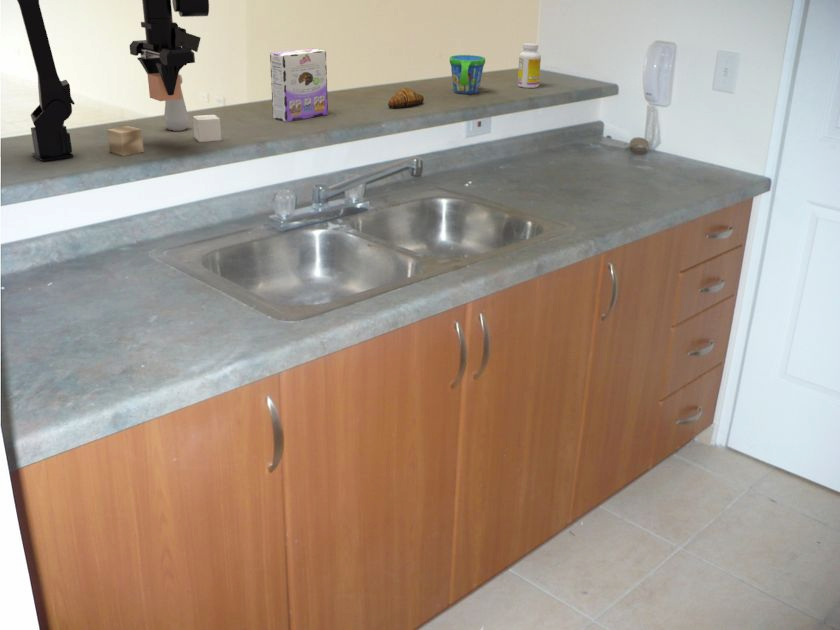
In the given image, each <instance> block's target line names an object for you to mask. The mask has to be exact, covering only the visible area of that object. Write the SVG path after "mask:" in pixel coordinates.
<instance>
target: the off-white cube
mask: <svg viewBox="0 0 840 630" xmlns="http://www.w3.org/2000/svg"><path fill="white" fill-rule="evenodd" d="M192 124H193V125H192V126H193V136H194V139H196V140H197V141H198V142H199V143H203V142H204V143H205V142H206V143H207V142H214V141H215V142H218V141H222V129H221V118H220V117H218V116H217V115H215V114H206V115H205V114H204V115H202V114H201V115H193V116H192Z"/></svg>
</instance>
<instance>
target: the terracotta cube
mask: <svg viewBox="0 0 840 630" xmlns="http://www.w3.org/2000/svg"><path fill="white" fill-rule="evenodd" d="M180 75H181V74H180ZM180 75H178V77H177V82H176V86H175V91H174V95H168V93H167V91H166V89H165V86H164V84H163V81H162V78H161V76H160V73H153V74H147V83H148V92H149V93H148V95H149V98H150V99H153V100H156V101H159V102H165V101H167V100H176V99H182V94H183V93H182V94H181V90H182V84H181V82H180Z"/></svg>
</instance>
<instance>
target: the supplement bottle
mask: <svg viewBox="0 0 840 630" xmlns="http://www.w3.org/2000/svg"><path fill="white" fill-rule="evenodd" d="M522 48H523V51H522V52H520V53H519V56H518V71H517V72H518V74H517V85H518V88H524V89H535V88H538V87H539V85H540V76H541V75H540V74H541V73H540V72H541V61H542V60H541V57H542V55H541V53H540V52H539V51H538V49H539V44H538V43H530V42H529V43H528V42H524V43H523V44H522Z"/></svg>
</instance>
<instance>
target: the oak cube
mask: <svg viewBox="0 0 840 630" xmlns="http://www.w3.org/2000/svg"><path fill="white" fill-rule="evenodd" d="M106 132H107V138H108V146H109V153H111V152H113V153H112V154H114V153H116V154H115V155H118V154H119V155H118V156H121V155H122V156H121V157H126V155H127V156H132V155H137V154H140V153H141V152H142V153H144V152H145V151H144V143H143V134H142V129H141V128H137V127H133V126H129V125H125V126H119V127H113V128H108V129H106ZM131 154H132V155H131Z"/></svg>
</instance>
